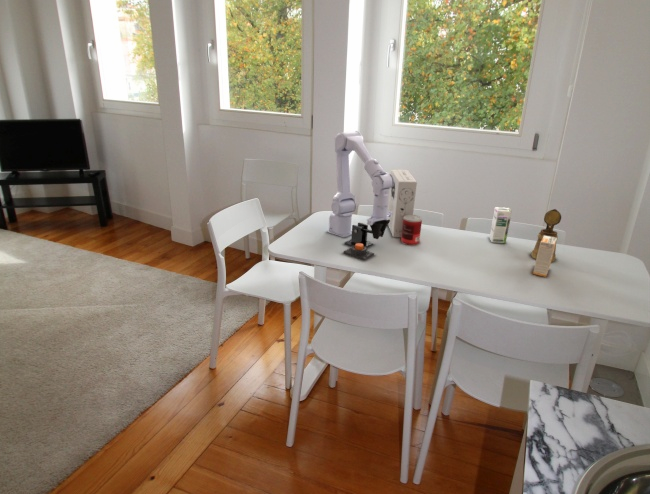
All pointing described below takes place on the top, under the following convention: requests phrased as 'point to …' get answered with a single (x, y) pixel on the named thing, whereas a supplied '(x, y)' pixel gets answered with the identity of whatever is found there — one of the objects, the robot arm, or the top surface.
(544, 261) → the supplement box
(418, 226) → the canned food
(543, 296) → the top surface
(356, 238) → the bracket
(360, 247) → the button
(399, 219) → the cereal box
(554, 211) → the brass disc-topped stand
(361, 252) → the control block
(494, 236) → the syrup box
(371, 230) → the lever
